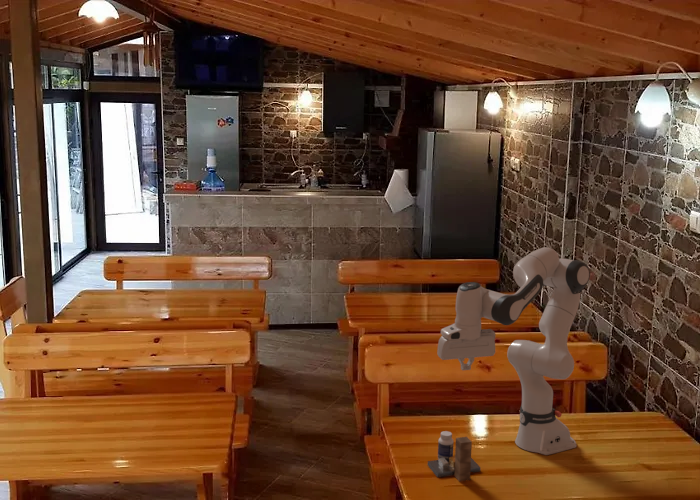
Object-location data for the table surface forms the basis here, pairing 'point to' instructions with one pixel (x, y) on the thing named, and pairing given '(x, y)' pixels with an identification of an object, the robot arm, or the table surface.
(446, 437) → the pill bottle
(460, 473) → the walnut post
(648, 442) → the table surface
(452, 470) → the breaker strip
